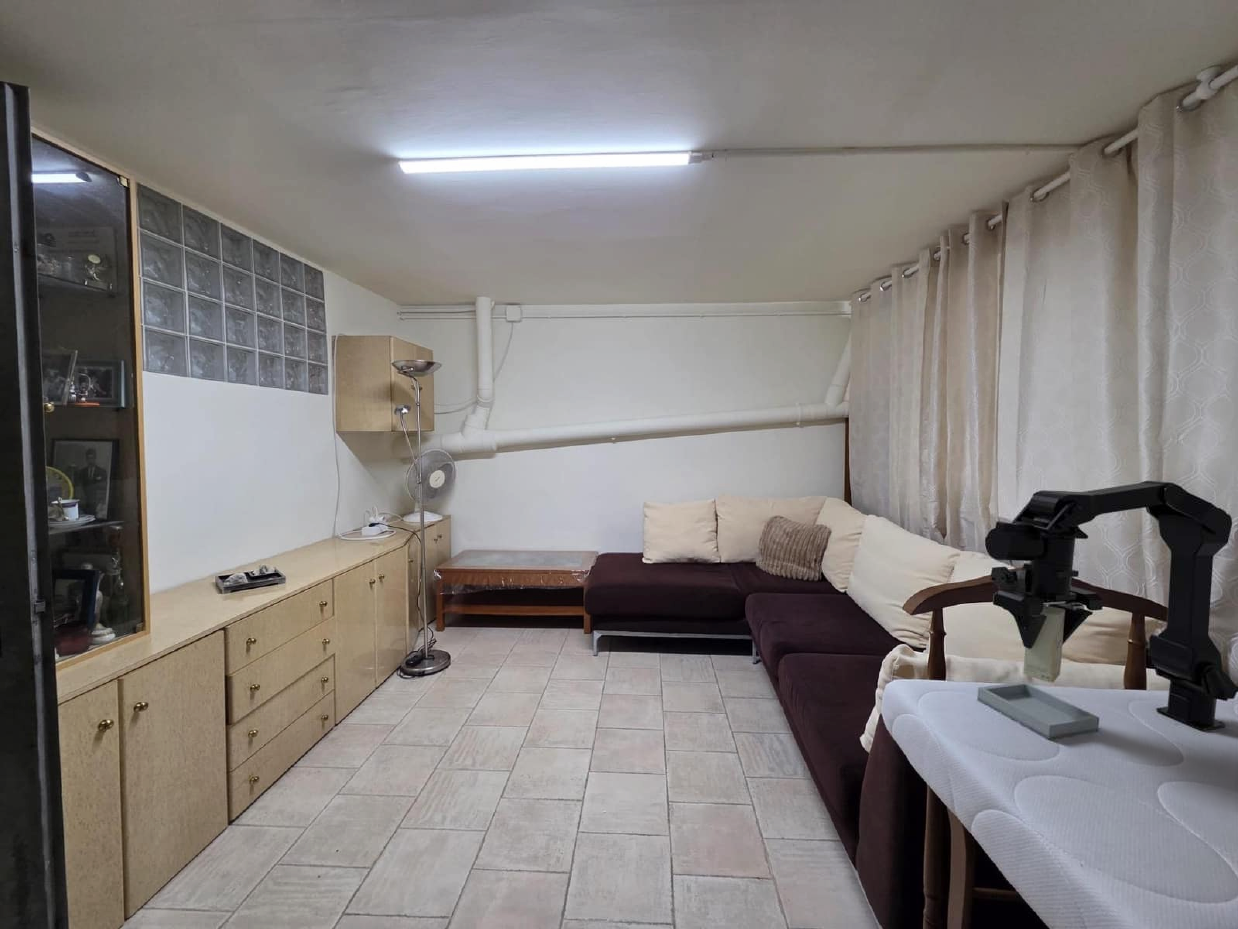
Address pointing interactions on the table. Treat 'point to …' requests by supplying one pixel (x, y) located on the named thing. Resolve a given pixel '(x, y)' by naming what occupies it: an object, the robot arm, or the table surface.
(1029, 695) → the sorting tray
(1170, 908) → the table surface
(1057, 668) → the skincare box
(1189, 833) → the table surface
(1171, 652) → the robot arm
